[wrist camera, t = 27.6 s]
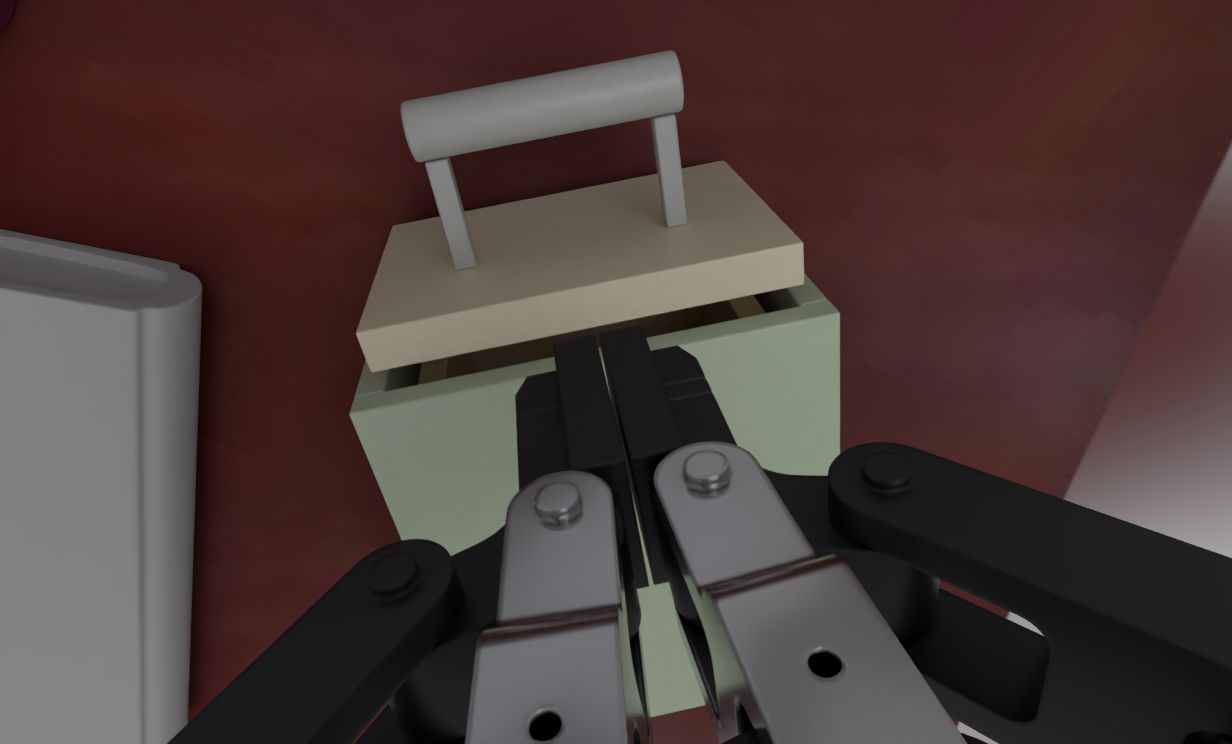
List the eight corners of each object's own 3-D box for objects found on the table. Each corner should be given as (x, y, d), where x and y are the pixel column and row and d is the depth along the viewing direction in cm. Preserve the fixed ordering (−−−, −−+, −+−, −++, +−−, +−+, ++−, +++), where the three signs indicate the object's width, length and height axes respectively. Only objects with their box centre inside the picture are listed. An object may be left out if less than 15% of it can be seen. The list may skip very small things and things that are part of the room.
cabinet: (392, 265, 27) (347, 414, 19) (737, 196, 27) (841, 312, 19) (491, 557, 35) (490, 753, 26) (760, 499, 35) (840, 675, 27)
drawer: (345, 83, 23) (283, 149, 16) (712, 14, 23) (799, 49, 17) (489, 522, 32) (487, 677, 26) (749, 467, 33) (813, 606, 26)
